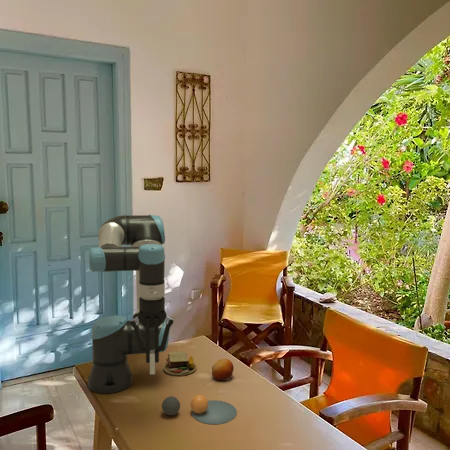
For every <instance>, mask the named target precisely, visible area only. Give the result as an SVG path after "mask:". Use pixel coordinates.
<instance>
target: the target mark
mask: <svg viewBox="0 0 450 450" xmlns="http://www.w3.org/2000/svg"><path fill="white" fill-rule="evenodd" d="M207 401H208V408H207V410H206V411H205V412H204V413H201V414H197V413H195V412H193V411H192V410H191V416H192V417H193V418H194V420H195V421H198V422H200V423H202V424H207V425H222V424H227V423H228V422H231V421H232V420H234V419H235V418H236V416H237V412H238V411H237V409H236V407H235V406H234V405H232V404H231V403H230V402H226V401H223V400H217V399H216V400H213V399H211V400H207Z"/></svg>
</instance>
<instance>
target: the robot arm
mask: <svg viewBox="0 0 450 450" xmlns="http://www.w3.org/2000/svg"><path fill="white" fill-rule="evenodd" d="M97 238H98V240H99V241H98V245H97V247H91V248H90V249H89V255H88V259H89V261H88V264H89V269H90V271H91V272H99V273H104V272H105V273H106V272H107V273H110V272H133V271H135V277H136V278H135V281H136V312H134V313H133V314H132V318H131V320H128V319H127V317H126V316H124V315H120V314H115V315H109V316H105V317H101V318H100V319H98V320H97V321H95V323H93V325H92V328H91V329H92V330H91V334H92V335H91V339H92V340H91V341H92V342H91V343H92V366H91V369H90V373H89V376H88V379H87V387H88V389H89V390H90V391H92V392H94V393H98V394H113V393H118V392H122V391H124V390H127V389H128V388H130V387H131V386H132V384H133V373H132V372H131V371H132V370H131V368H130V365H129V362H128V355H129V356H130V355H144V354H145V362H146V364H149V375H156V364H157V363H159V361H160V353H164V352H165V351H167V349H168V346H169V340H170V339H169V338H170V329H171V327H172V326H173V324H174V318H173V317H170V316H168V315H167V312H166V307H165V306H166V304H165V303H166V301H165V300H166V298H165V295H166V293H165V292H166V290H165V289H166V286H165V285H166V284H165V283H166V282H165V281H166V280H165V268H166V266H165V264H166V263H165V260H166V254H165V247H164V244H165V243H166V233H165V225H164V221H163V219H162V218H161V216H160V215H157V214H156V215H154V214H153V215H152V214H148V215H147V214H146V215H145V214H142V215H137V214H135V215H131V214H130V215H126V214H125V215H123V214H122V215H117V216H114V217H112V218H109V219H108V220H106V221H104V222H103V223H102V224H101V226H100V227H99V229H98V233H97Z"/></svg>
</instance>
